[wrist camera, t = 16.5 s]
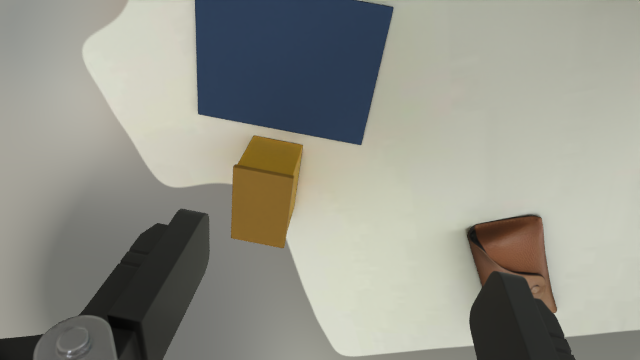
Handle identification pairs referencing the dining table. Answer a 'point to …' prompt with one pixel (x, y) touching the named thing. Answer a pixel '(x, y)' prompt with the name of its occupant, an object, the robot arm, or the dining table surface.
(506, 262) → the sunglasses case
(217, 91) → the cloth
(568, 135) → the dining table surface
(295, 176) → the container
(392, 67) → the dining table surface
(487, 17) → the dining table surface
